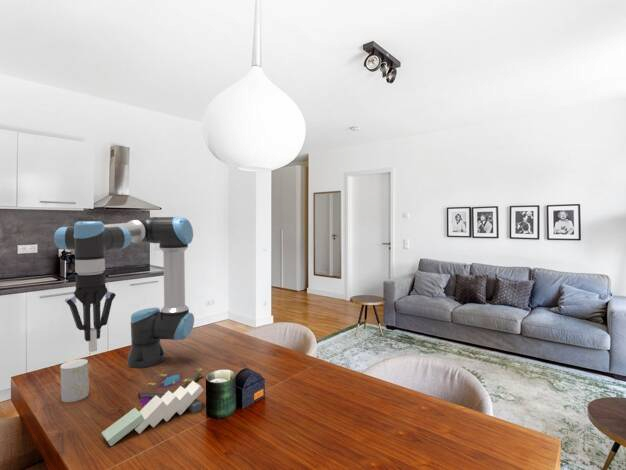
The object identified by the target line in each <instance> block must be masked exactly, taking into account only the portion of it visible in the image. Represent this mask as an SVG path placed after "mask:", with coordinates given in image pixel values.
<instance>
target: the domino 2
mask: <svg viewBox="0 0 626 470" xmlns="http://www.w3.org/2000/svg"><path fill="white" fill-rule="evenodd" d="M166 406H167V405H166V404H165V402H164V401H163V400H161V399H160V398H159V397H158V396H155V397H154V398H153V399H152V400H149V401H148V402H147V404H146V405H144V406H143V407H142V408H141V410H140V411H139V410H138V411H139V412H140V413H141V414H142V416H143V418H144V419H145V420H144V421H143V422H141V423H140V424H139V425H138V426H136V427H135V428H134V429H133V430H135V431H136V432H137V433H138V434H141V433H142V432H144V430H145V429H146V428H147V427H148V426H149V425H150V423H151V422H152V421H153V420H154V419H155V417H156V416H157V415H158V414H159V413H160V412H161V411H162V410H163V409H164V408H165V407H166Z"/></svg>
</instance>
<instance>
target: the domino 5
mask: <svg viewBox="0 0 626 470" xmlns="http://www.w3.org/2000/svg"><path fill="white" fill-rule="evenodd" d="M185 389H186V390H187V391H188V392H189V393H190V394H191V395H192V396H191V397H190V398H189V399H188V400H187V401H186V402H185V403H184V404H183V405H182V406H181V407H180V408H179V409H178V411H177V412H176V413H177V414H178V415H179V416H181V415H182V414H183V413H184V412H185V411H186V410H188V409H187V408H188V407H189V405H190V404H191V403H192V402H193V401H194V400H195V399H197V398H198V397H199V396H200V395H201V394H202V392H203V391H204V388H203V387H202V385H200V384H199V383H197V382H196V381H195V382H194V381H192V382H191V383H190V384H189V385H188V386H187V387H186V388H185Z"/></svg>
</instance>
